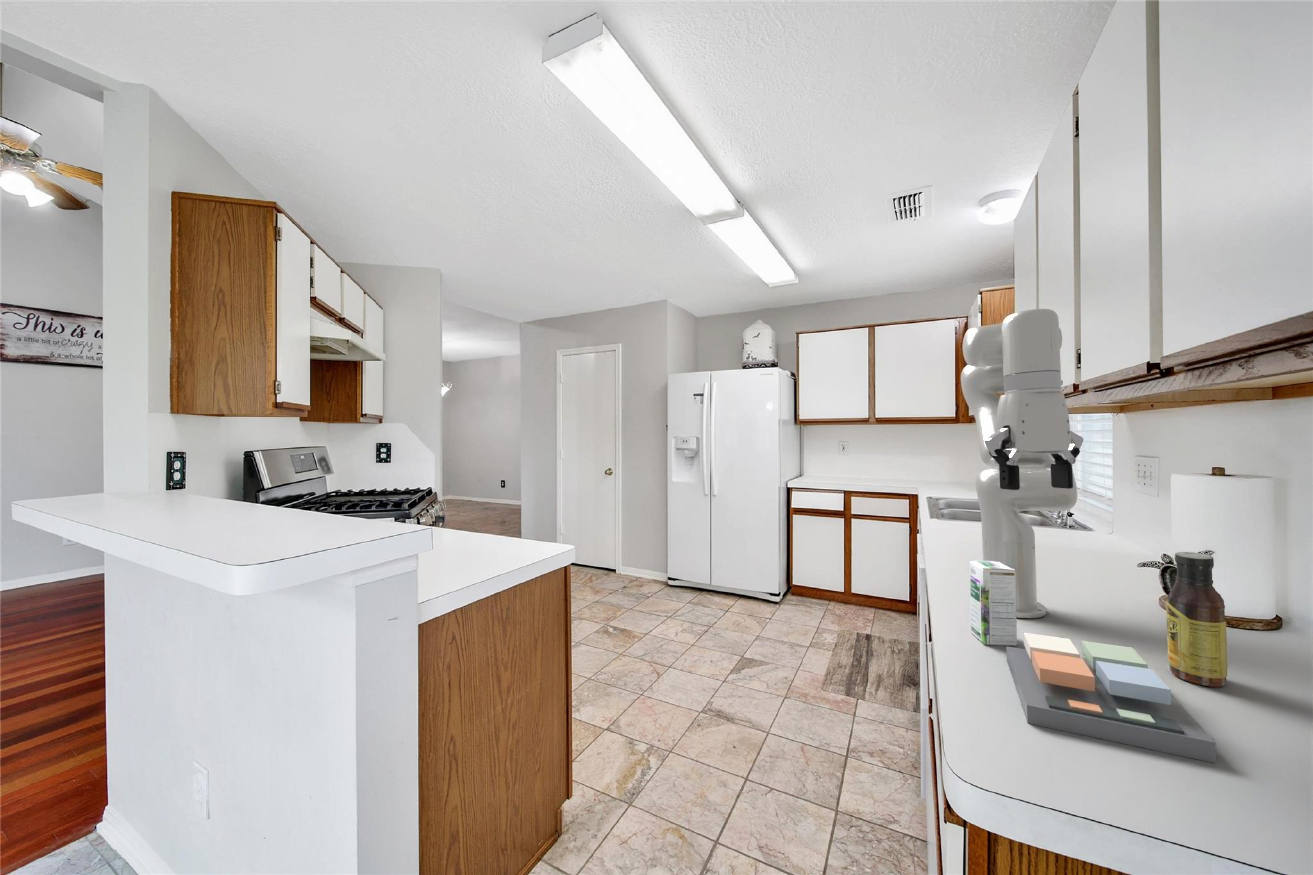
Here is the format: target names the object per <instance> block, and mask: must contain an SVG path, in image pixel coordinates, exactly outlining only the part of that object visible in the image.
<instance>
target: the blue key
mask: <svg viewBox="0 0 1313 875" xmlns="http://www.w3.org/2000/svg"><path fill="white" fill-rule="evenodd" d="M1096 675H1097V676H1098V678H1099V679H1100V681H1101V682H1102V684H1103V685H1104V687H1105V688H1106V690H1107V691H1108V692H1109V694H1112V695H1117V696H1123V697H1129V698H1134V699H1140V700H1145V701H1151V702H1157V703H1162V704H1168V705H1171V694H1172V690H1171V689H1170V687H1169V686H1168V685H1167V684H1166V683H1165V682H1164V681H1163V680H1162V679H1161V677H1160V676H1159V675H1158V674H1157V673H1156V672H1155V671H1154V670H1153V669H1152V668H1149V669H1147V668H1140V667H1134V666H1127V665H1121V664H1114V663H1108V662H1101V661H1096Z"/></svg>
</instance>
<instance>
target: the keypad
mask: <svg viewBox="0 0 1313 875" xmlns="http://www.w3.org/2000/svg"><path fill="white" fill-rule="evenodd" d="M1005 646H1006V648H1005V649H1006V650H1005V651H1006V652H1005V653H1006V663H1007V666H1008V669H1009V672H1010V674H1011V677H1012V680H1013V684H1014V687H1015V689H1016V693H1017V695H1018V698H1019V703H1020V704H1021V707H1022V710H1023V713H1024V714H1023V715H1024V716H1025V720H1026V722H1027V724H1031V725H1035V726H1040V727H1045V728H1048V729H1049V728H1050V729H1054V730H1058V731H1062V732H1063V731H1064V732H1067V733H1073V734H1078V735H1081V736H1087V737H1092V738H1095V739H1096V738H1097V739H1100V738H1101V740H1105V741H1110V742H1115V743H1120V744H1124V745H1129V746H1133V747H1139V748H1141V749H1142V748H1143V747H1144V748H1143V749H1148V750H1151V749H1152V750H1153V751H1156V752H1160V753H1161V752H1162V753H1167V754H1170V755H1176V756H1181V757H1185V758H1189V759H1195V760H1200V761H1204V762H1209V763H1212V764H1216V763H1217V759H1216V758H1217V752H1216V749H1217V747H1216V742H1215V740H1214V739H1213V738H1212V737H1211V736H1210V734H1208V732H1207V731H1206V730H1205V729H1204V728H1203V727H1202V726H1201V725H1200V723H1199V722H1197V720H1196V719H1195V718H1194V717H1193V716H1192V715H1191V713H1189V712H1188V710H1187V709H1186V708H1185V707H1184V706H1183V704H1182V703H1180V701H1179V700H1178V699H1177V698H1176V697H1175V696H1174V695H1173V694H1172V693H1171V705H1168V704H1162V703H1157V702H1151V701H1145V700H1140V699H1134V698H1129V697H1123V696H1117V695H1112V694H1109V692H1108V691H1107V690H1106V688H1105V687H1104V685H1103V684H1102V682H1101V681H1100V679H1099V678H1098V676H1097V675H1096V670H1093V669H1092V667H1091V666H1090V664H1089V663H1088V661H1087V660H1086V658H1085V657H1081V658H1082V659H1083V660H1084V662H1085V663H1086V665H1087V666H1088V668H1089V669H1090V671H1091V672H1092V674H1093V675H1094V677H1095V691H1089V690H1084V689H1078V688H1072V687H1067V686H1061V685H1055V684H1050V683H1044V682H1040V680H1039V678H1038V676H1037V673H1036V671H1035V669H1034V666H1033V664H1032V660H1030V657H1029V655H1028V653H1027V650H1026V648H1021V647H1020V648H1018V647H1013V646H1008V645H1005ZM1148 669H1150V668H1149V667H1148Z"/></svg>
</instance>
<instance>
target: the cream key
mask: <svg viewBox="0 0 1313 875" xmlns="http://www.w3.org/2000/svg"><path fill="white" fill-rule="evenodd" d="M1023 645H1024V649H1026V650H1027V653H1028V655H1029V657H1030V660H1032V651H1036V652H1043V653H1049V654H1056V655H1062V656H1069V657H1075V658H1081V657H1080V652H1079V651H1078V650H1077V648H1076V646H1075V645H1074V643H1073V642H1072V640H1071V639H1070V638H1066V637H1059V636H1051V635H1043V634H1038V633H1037V634H1036V633H1029V632H1023Z"/></svg>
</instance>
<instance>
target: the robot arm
mask: <svg viewBox="0 0 1313 875" xmlns="http://www.w3.org/2000/svg"><path fill="white" fill-rule="evenodd" d="M1059 324H1060V323H1059V315H1058V313H1057V312H1056V311H1055V310H1053V309H1049V308H1033V309H1032V308H1031V309H1027V310H1022V311H1017V312H1014V313H1011V314H1009V315H1007V316H1006V317H1005V318H1004V319H1003V320H1002V322H1001V323H995V324H989V325H978V326H974V327H971V328H968V329H967V330H966V332H965V334H964V337H963V340H962V355H963V358H964V359H963V360H964V361H965V363H966V366H965V367H963V368H962V371H961V374H960V386H961V391H962V394H963V397H964V400H965V402H966V404H967V406H968V408H969V410H970V411H971V413H972V414H973V417H974V420H975V423H976V424H975V425H976V432H977V443H978V450H979V455H980V458H981V460H982V462H983V463H984V464H985V465H987V466H990V467H988V468H985V469H983V470H981V471H980V472H978V474H977V475H976V478H975V490H976V496H977V500H978V504H979V513H980V518H981V519H980V520H981V536H982V537H981V538H982V542H981V543H982V561H995V562H1000V563H1002V564H1004V565H1006V566H1008V567H1009V568H1011V569H1015V572H1016V573H1015V574H1016V618H1019V619H1037V618H1041V617H1042V618H1043V617H1045V616H1046V614H1047V608H1046V606H1045V604H1044V605H1043V603H1041V602H1039V601H1038V598H1037V597H1038V596H1037V591H1038V590H1037V567H1036V566H1037V564H1036V534H1035V531H1034V528H1033V527H1032V525H1031V524H1030V523H1029V522H1028V520H1026V518H1024V517H1023V516H1022V515H1020V513H1019V512H1021V511H1022V512H1023V511H1025V512H1027V511H1034V512H1035V511H1037V512H1038V511H1039V512H1064V511H1065V512H1066V511H1069V510H1071V509H1073V508H1074V507H1075V505H1076V503H1077V501H1078V488H1077V483H1076V478H1075V473H1074V469H1073V465H1074V464H1076V462H1077V460H1076V459H1077V457H1078V456H1079V455H1080V452H1081V448H1082V445H1083V443H1084V438H1083V437H1082V436H1081V435H1079V434H1078V433H1075V432H1073V431H1072V430H1071V424H1070V417H1069V410H1068V406H1067V402H1066V401H1067V400H1066V398H1065V394H1064V392H1062V386H1063V384H1064V382H1063V379H1062V368H1061V367H1062V365H1061V349H1062V346H1063V333H1062V330H1061V328H1060V325H1059ZM1003 393H1004V394H1003ZM996 394H1001V395H999V396H998V395H996Z"/></svg>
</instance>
